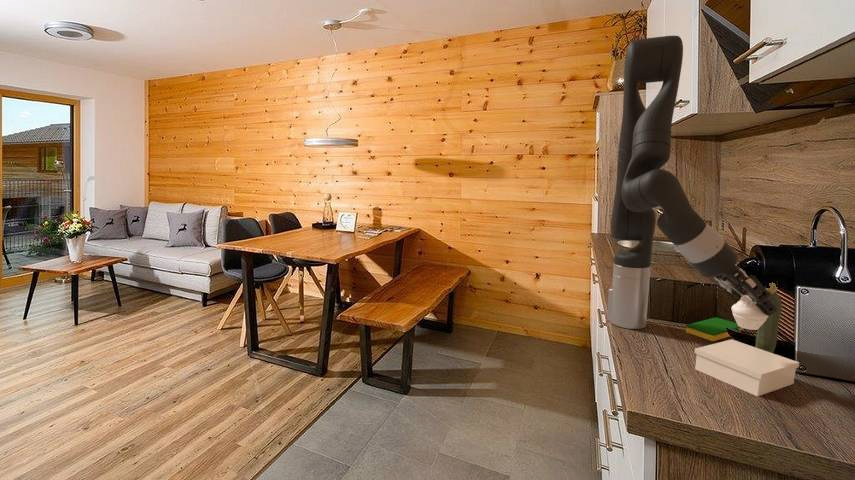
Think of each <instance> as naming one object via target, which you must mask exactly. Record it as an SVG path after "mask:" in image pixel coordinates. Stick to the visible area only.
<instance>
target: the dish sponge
mask: <svg viewBox="0 0 855 480" xmlns="http://www.w3.org/2000/svg"><path fill="white" fill-rule="evenodd" d="M685 327H686V328H685V332H686V334H690V335H693V336H695V337H699V338H701V339H705V340H708V341H711V342H715V341H718V340H722V339H725V338H729V337H731V336H730V335H729V334H728V332H727V329H726V327H727V328H730V329H739V330H743V331H744V328H742V327H739V326H738V324H737V322H733V321H731V320H727V319H723V318H720V317H717V316H716V317H711V318H708V319H704V320H700V321H697V322H693V323H689V324H686V326H685Z"/></svg>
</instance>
